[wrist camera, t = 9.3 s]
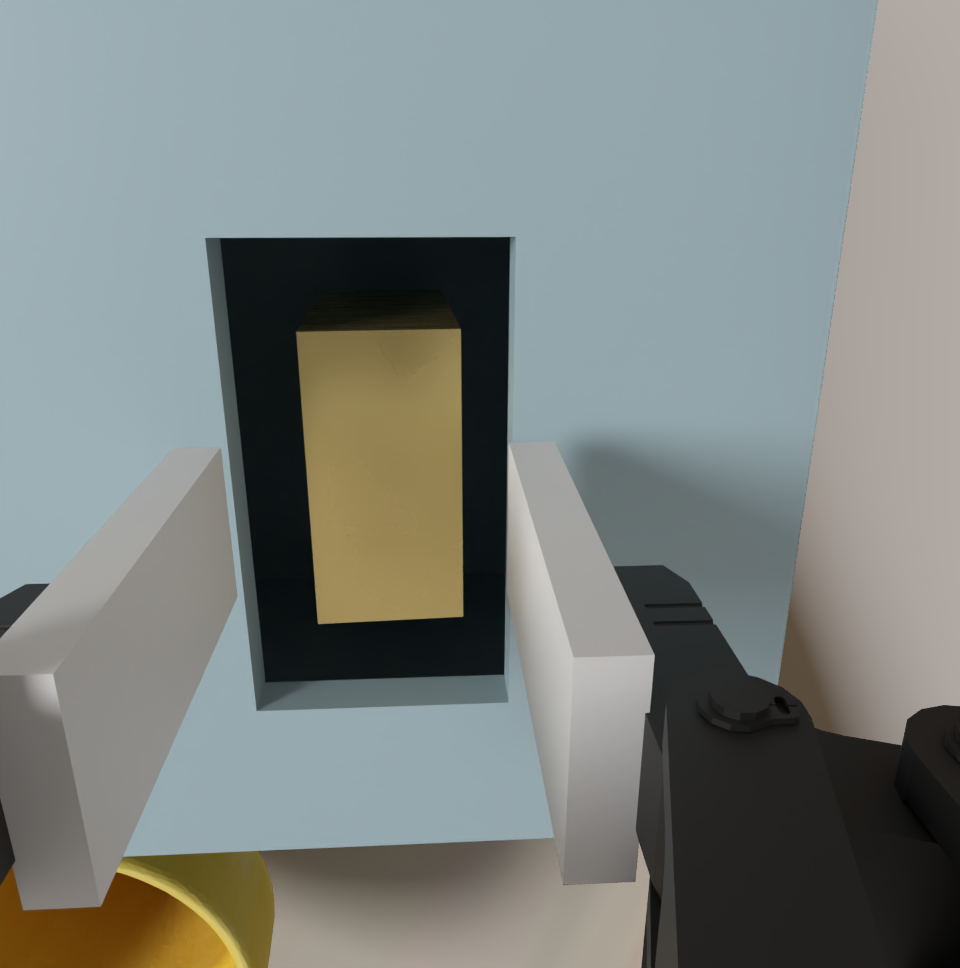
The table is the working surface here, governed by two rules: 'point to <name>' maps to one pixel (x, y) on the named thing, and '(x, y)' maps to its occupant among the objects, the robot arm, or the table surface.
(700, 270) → the box
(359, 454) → the yellow rectangular block
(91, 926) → the plant pot
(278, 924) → the table surface
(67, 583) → the robot arm
